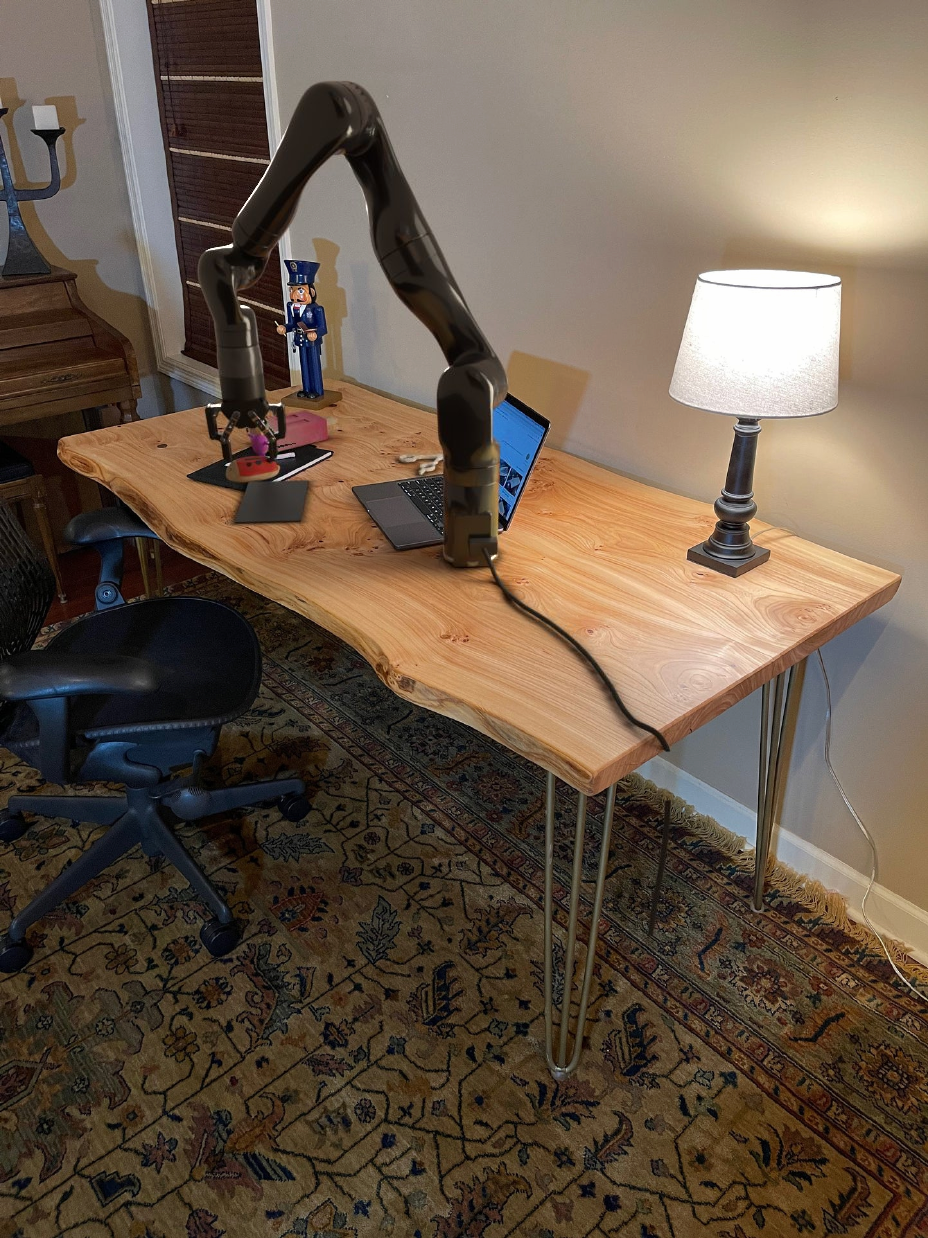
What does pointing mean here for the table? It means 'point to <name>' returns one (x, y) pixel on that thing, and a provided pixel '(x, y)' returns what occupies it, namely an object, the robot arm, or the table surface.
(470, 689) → the table surface
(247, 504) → the desk pad
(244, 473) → the ladybug figurine
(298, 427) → the popsicle
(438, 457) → the scissors
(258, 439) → the wizard figurine
